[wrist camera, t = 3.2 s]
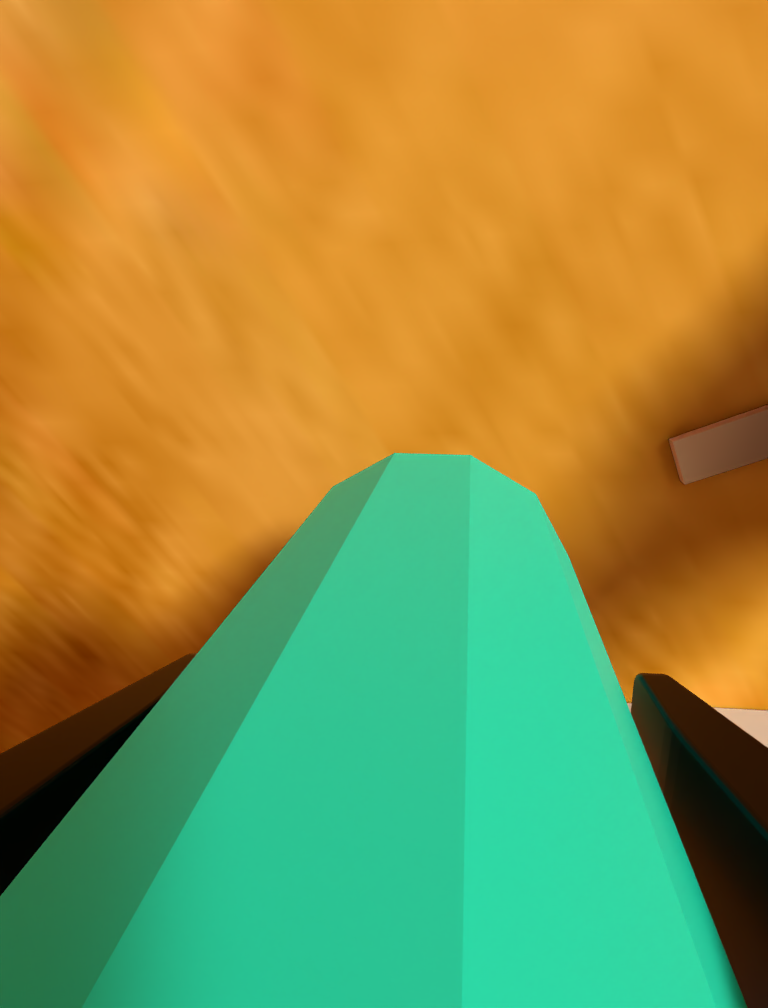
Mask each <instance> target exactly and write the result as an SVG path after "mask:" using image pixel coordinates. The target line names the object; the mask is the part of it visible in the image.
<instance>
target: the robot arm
mask: <svg viewBox="0 0 768 1008" xmlns="http://www.w3.org/2000/svg"><path fill="white" fill-rule="evenodd" d="M196 655H197V653H192V654H188V655H186V656H184V657H182V658H180V659H178V660H177V661H175V662H173V663H171V664H169V665H167V666H165V667H163V668H161V669H160V670H158V671H156V672H154V673H152V674H150V675H148V676H146V677H144V678H143V679H141V680H139V681H137V682H135V683H133V684H131V685H129V686H128V687H126V688H124V689H122V690H120V691H118V692H116V693H114V694H112V695H111V696H109V697H107V698H105V699H103V700H101V701H99V702H97V703H95V704H94V705H92V706H90V707H88V708H86V709H84V710H82V711H80V712H79V713H77V714H75V715H73V716H71V717H69V718H67V719H65V720H63V721H62V722H60V723H58V724H56V725H54V726H52V727H50V728H48V729H46V730H45V731H43V732H41V733H39V734H37V735H35V736H33V737H31V738H29V739H28V740H26V741H24V742H22V743H20V744H18V745H16V746H14V747H13V748H11V749H9V750H7V751H5V752H3V753H1V754H0V896H1V895H2V893H3V892H4V891H5V890H6V888H7V887H8V886H9V885H10V884H11V882H12V881H13V880H14V879H15V877H16V876H17V875H18V874H19V872H20V871H21V870H22V869H23V868H24V866H25V865H26V864H27V863H28V861H29V860H30V859H31V858H32V856H33V855H34V854H35V853H36V852H37V850H38V849H39V848H40V847H41V845H42V844H43V843H44V842H45V840H46V839H47V838H48V837H49V836H50V834H51V833H52V832H53V831H54V829H55V828H56V827H57V826H58V824H59V823H60V822H61V821H62V820H63V818H64V817H65V816H66V815H67V813H68V812H69V811H70V810H71V808H72V807H73V806H74V805H75V804H76V802H77V801H78V800H79V799H80V797H81V796H82V795H83V794H84V792H85V791H86V790H87V789H88V787H89V786H90V785H91V784H92V783H93V781H94V780H95V779H96V778H97V776H98V775H99V774H100V773H101V771H102V770H103V769H104V768H105V767H106V765H107V764H108V763H109V762H110V760H111V759H112V758H113V757H114V755H115V754H116V753H117V752H118V751H119V749H120V748H121V747H122V746H123V744H124V743H125V742H126V741H127V739H128V738H129V737H130V736H131V735H132V733H133V732H134V731H135V730H136V728H137V727H138V726H139V725H140V723H141V722H142V721H143V720H144V719H145V717H146V716H147V715H148V714H149V712H150V711H151V710H152V709H153V707H154V706H155V705H156V704H157V703H158V701H159V700H160V699H161V698H162V696H163V695H164V694H165V693H166V691H167V690H168V689H169V688H170V687H171V685H172V684H173V683H174V682H175V680H176V679H177V678H178V677H179V675H180V674H181V673H182V672H183V671H184V669H185V668H186V667H187V666H188V664H189V663H190V662H191V661H192V659H193V658H194V657H195V656H196ZM631 715H632V718H633V720H634V723H635V725H636V728H637V730H638V733H639V735H640V738H641V740H642V743H643V745H644V748H645V750H646V753H647V755H648V758H649V760H650V763H651V765H652V768H653V771H654V773H655V776H656V778H657V781H658V783H659V786H660V788H661V791H662V793H663V796H664V798H665V801H666V803H667V806H668V808H669V811H670V813H671V816H672V818H673V821H674V824H675V826H676V829H677V831H678V834H679V836H680V839H681V841H682V844H683V846H684V849H685V851H686V854H687V856H688V859H689V861H690V864H691V866H692V869H693V871H694V874H695V877H696V879H697V882H698V884H699V887H700V889H701V892H702V894H703V897H704V899H705V902H706V904H707V907H708V909H709V912H710V914H711V917H712V919H713V922H714V924H715V927H716V929H717V932H718V935H719V937H720V940H721V942H722V945H723V947H724V950H725V952H726V955H727V957H728V960H729V962H730V965H731V967H732V970H733V972H734V975H735V977H736V980H737V982H738V985H739V988H740V990H741V993H742V995H743V998H744V1000H745V1003H746V1005H747V1008H768V747H766V746H765V745H764V744H762V743H761V742H759V741H758V740H757V739H755V738H754V737H753V736H751V735H750V734H748V733H747V732H746V731H744V730H743V729H741V728H740V727H739V726H737V725H736V724H735V723H733V722H732V721H730V720H729V719H728V718H726V717H725V716H724V715H722V714H721V713H719V712H718V711H717V710H715V709H714V708H713V707H711V706H710V705H708V704H707V703H706V702H704V701H703V700H702V699H700V698H699V697H697V696H696V695H695V694H693V693H692V692H691V691H689V690H688V689H686V688H685V687H684V686H682V685H681V684H679V683H678V682H677V681H675V680H674V679H673V678H671V677H670V676H668V675H665V674H651V673H639V674H638V675H637V676H636V677H635V680H634V687H633V696H632V705H631Z"/></svg>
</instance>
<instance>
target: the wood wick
mask: <svg viewBox="0 0 768 1008" xmlns="http://www.w3.org/2000/svg"><path fill="white" fill-rule="evenodd" d="M668 440H669V443H670V447H671V450H672V454H673V457H674V461H675V464H676V468H677V471H678V475H679V478H680V481H681V482H682V483H683V484H685V485H686V484H689V483H692V482H695V481H698V480H701V479H704V478H707V477H711V476H714V475H717V474H720V473H723V472H726V471H729V470H732V469H736V468H739V467H742V466H745V465H748V464H751V463H754V462H758V461H761V460H764V459H767V458H768V405H766V406H763V407H760V408H757V409H754V410H751V411H748V412H745V413H742V414H740V415H737V416H734V417H731V418H728V419H725V420H722V421H719V422H716V423H713V424H711V425H708V426H705V427H702V428H699V429H696V430H693V431H690V432H687V433H684V434H682V435H679V436H676V437H673V438H670V439H668Z"/></svg>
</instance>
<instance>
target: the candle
mask: <svg viewBox="0 0 768 1008" xmlns="http://www.w3.org/2000/svg"><path fill="white" fill-rule="evenodd" d="M0 1008H747V1005H746V1003H745V1000H744V998H743V995H742V993H741V990H740V988H739V985H738V982H737V980H736V977H735V975H734V972H733V970H732V967H731V965H730V962H729V960H728V957H727V955H726V952H725V950H724V947H723V945H722V942H721V940H720V937H719V935H718V932H717V929H716V927H715V924H714V922H713V919H712V917H711V914H710V912H709V909H708V907H707V904H706V902H705V899H704V897H703V894H702V892H701V889H700V887H699V884H698V882H697V879H696V877H695V874H694V871H693V869H692V866H691V864H690V861H689V859H688V856H687V854H686V851H685V849H684V846H683V844H682V841H681V839H680V836H679V834H678V831H677V829H676V826H675V824H674V821H673V818H672V816H671V813H670V811H669V808H668V806H667V803H666V801H665V798H664V796H663V793H662V791H661V788H660V786H659V783H658V781H657V778H656V776H655V773H654V771H653V768H652V765H651V763H650V760H649V758H648V755H647V753H646V750H645V748H644V745H643V743H642V740H641V738H640V735H639V733H638V730H637V728H636V725H635V723H634V720H633V718H632V715H631V713H630V710H629V707H628V705H627V702H626V700H625V697H624V695H623V692H622V690H621V687H620V685H619V682H618V680H617V677H616V675H615V672H614V670H613V667H612V665H611V662H610V660H609V657H608V654H607V652H606V649H605V647H604V644H603V642H602V639H601V637H600V634H599V632H598V629H597V627H596V624H595V622H594V619H593V617H592V614H591V612H590V609H589V607H588V604H587V602H586V599H585V596H584V594H583V591H582V589H581V586H580V584H579V581H578V579H577V576H576V574H575V571H574V569H573V566H572V564H571V561H570V559H569V556H568V554H567V552H566V550H565V549H564V547H563V545H562V543H561V541H560V539H559V537H558V535H557V533H556V531H555V530H554V528H553V526H552V524H551V522H550V520H549V518H548V516H547V514H546V512H545V511H544V509H543V507H542V505H541V503H540V501H539V499H538V497H537V495H536V494H535V493H533V492H532V491H530V490H528V489H526V488H525V487H523V486H521V485H520V484H518V483H516V482H515V481H513V480H511V479H510V478H508V477H506V476H505V475H503V474H501V473H500V472H498V471H496V470H495V469H493V468H491V467H490V466H488V465H486V464H485V463H483V462H481V461H479V460H478V459H476V458H474V457H473V456H471V455H446V454H408V453H394V454H392V455H390V456H388V457H386V458H385V459H383V460H381V461H379V462H377V463H375V464H374V465H372V466H370V467H368V468H366V469H364V470H362V471H361V472H359V473H357V474H355V475H353V476H351V477H350V478H348V479H346V480H344V481H342V482H340V483H339V484H337V485H335V486H333V487H332V488H331V489H330V491H329V492H328V493H327V494H326V496H325V497H324V498H323V499H322V501H321V502H320V503H319V504H318V506H317V507H316V508H315V509H314V510H313V512H312V513H311V514H310V515H309V517H308V518H307V519H306V520H305V522H304V523H303V524H302V525H301V526H300V528H299V529H298V530H297V531H296V533H295V534H294V535H293V536H292V538H291V539H290V540H289V541H288V542H287V544H286V545H285V546H284V547H283V549H282V550H281V551H280V552H279V554H278V555H277V556H276V557H275V558H274V560H273V561H272V562H271V563H270V565H269V566H268V567H267V568H266V570H265V571H264V572H263V573H262V574H261V576H260V577H259V578H258V579H257V581H256V582H255V583H254V584H253V586H252V587H251V588H250V589H249V590H248V592H247V593H246V594H245V595H244V597H243V598H242V599H241V600H240V602H239V603H238V604H237V605H236V606H235V608H234V609H233V610H232V611H231V613H230V614H229V615H228V616H227V618H226V619H225V620H224V621H223V622H222V624H221V625H220V626H219V627H218V629H217V630H216V631H215V632H214V634H213V635H212V636H211V637H210V638H209V640H208V641H207V642H206V643H205V645H204V646H203V647H202V648H201V650H200V651H199V652H198V653H197V655H196V656H195V657H194V658H193V659H192V661H191V662H190V663H189V664H188V666H187V667H186V668H185V669H184V671H183V672H182V673H181V674H180V675H179V677H178V678H177V679H176V680H175V682H174V683H173V684H172V685H171V687H170V688H169V689H168V690H167V691H166V693H165V694H164V695H163V696H162V698H161V699H160V700H159V701H158V703H157V704H156V705H155V706H154V707H153V709H152V710H151V711H150V712H149V714H148V715H147V716H146V717H145V719H144V720H143V721H142V722H141V723H140V725H139V726H138V727H137V728H136V730H135V731H134V732H133V733H132V735H131V736H130V737H129V738H128V739H127V741H126V742H125V743H124V744H123V746H122V747H121V748H120V749H119V751H118V752H117V753H116V754H115V755H114V757H113V758H112V759H111V760H110V762H109V763H108V764H107V765H106V767H105V768H104V769H103V770H102V771H101V773H100V774H99V775H98V776H97V778H96V779H95V780H94V781H93V783H92V784H91V785H90V786H89V787H88V789H87V790H86V791H85V792H84V794H83V795H82V796H81V797H80V799H79V800H78V801H77V802H76V804H75V805H74V806H73V807H72V808H71V810H70V811H69V812H68V813H67V815H66V816H65V817H64V818H63V820H62V821H61V822H60V823H59V824H58V826H57V827H56V828H55V829H54V831H53V832H52V833H51V834H50V836H49V837H48V838H47V839H46V840H45V842H44V843H43V844H42V845H41V847H40V848H39V849H38V850H37V852H36V853H35V854H34V855H33V856H32V858H31V859H30V860H29V861H28V863H27V864H26V865H25V866H24V868H23V869H22V870H21V871H20V872H19V874H18V875H17V876H16V877H15V879H14V880H13V881H12V882H11V884H10V885H9V886H8V887H7V888H6V890H5V891H4V892H3V893H2V895H1V896H0Z"/></svg>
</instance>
